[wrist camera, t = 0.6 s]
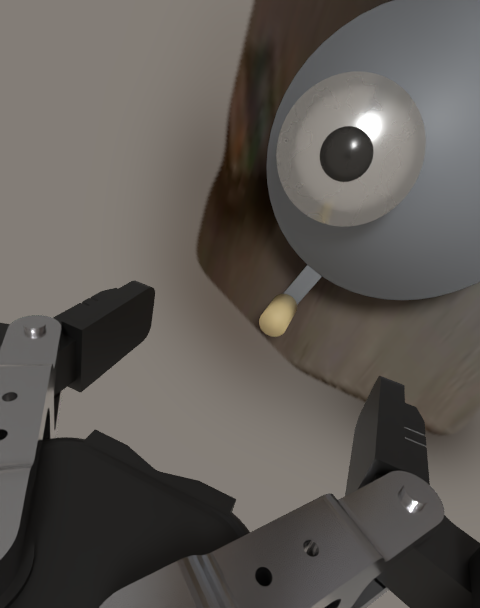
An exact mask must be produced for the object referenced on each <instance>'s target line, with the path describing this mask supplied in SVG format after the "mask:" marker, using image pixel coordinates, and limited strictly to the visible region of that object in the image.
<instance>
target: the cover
mask: <svg viewBox="0 0 480 608" xmlns="http://www.w3.org/2000/svg"><path fill="white" fill-rule="evenodd" d="M425 147H426V136H425V128H424V123H423V120H422V117H421V114H420V111H419V109H418V108H417V106H416V104H415V102H414V101H413V99H412V98H411V97H410V95H409V94H408V93H407V92H406V91H405V90H404V89H403V88H402V87H401V86H399V85H398V84H397V83H395V82H394V81H392V80H390V79H388V78H386V77H384V76H381V75H378V74H375V73H370V72H346V73H341V74H337V75H334V76H331V77H329V78H327V79H324V80H322V81H321V82H319V83H317V84H316V85H314V86H313V87H311V88H310V89H309V90H308V91H306V92H305V93H304V94H303V95H302V96H301V97H300V98H299V99H298V100H297V102H296V103H295V104H294V105H293V107H292V108H291V110H290V111H289V113H288V115H287V116H286V118H285V121H284V123H283V125H282V128H281V131H280V134H279V138H278V143H277V152H276V159H277V169H278V174H279V178H280V181H281V184H282V186H283V188H284V191H285V192H286V194H287V196H288V197H289V199H290V200H291V201H292V203H293V204H294V205H295V206H296V207H297V208H298V209H299V210H300V211H301V212H303V213H304V214H305V215H307V216H308V217H310V218H312V219H314V220H316V221H318V222H321V223H324V224H327V225H332V226H340V227H349V226H357V225H361V224H365V223H368V222H371V221H373V220H376V219H378V218H380V217H382V216H383V215H385V214H387V213H388V212H389V211H391V210H392V209H394V208H395V207H396V206H397V205H398V204H399V203H400V202H401V201H402V200H403V199H404V198H405V197H406V195H407V194H408V193H409V191H410V190H411V188H412V187H413V186H414V184H415V182H416V180H417V178H418V176H419V173H420V171H421V168H422V165H423V161H424V156H425Z"/></svg>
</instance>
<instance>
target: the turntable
mask: <svg viewBox="0 0 480 608" xmlns="http://www.w3.org/2000/svg"><path fill="white" fill-rule="evenodd" d="M346 72H370V73H375V74H378V75H381V76H384V77H386V78H388V79H390V80H392V81H394V82H395V83H397V84H398V85H399V86H401V87H402V88H403V89H404V90H405V91H406V92H407V93H408V94H409V95H410V97H411V98H412V99H413V101H414V102H415V104H416V106H417V108H418V109H419V111H420V114H421V117H422V120H423V123H424V128H425V136H426V147H425V156H424V161H423V165H422V168H421V171H420V173H419V176H418V178H417V180H416V182H415V184H414V186H413V187H412V188H411V190H410V191H409V193H408V194H407V195H406V197H405V198H404V199H403V200H402V201H401V202H400V203H399V204H398V205H397V206H396V207H395V208H394V209H392V210H391V211H389V212H388V213H387V214H385V215H383V216H382V217H380V218H378V219H376V220H373V221H371V222H368V223H365V224H361V225H357V226H349V227H340V226H332V225H327V224H324V223H321V222H318V221H316V220H314V219H312V218H310V217H308V216H307V215H305V214H304V213H303V212H301V211H300V210H299V209H298V208H297V207H296V206H295V205H294V204H293V203H292V201H291V200H290V199H289V197H288V196H287V194H286V192H285V191H284V188H283V186H282V184H281V181H280V178H279V174H278V169H277V159H276V152H277V143H278V138H279V134H280V131H281V128H282V125H283V123H284V121H285V118H286V116H287V115H288V113H289V111H290V110H291V108H292V107H293V105H294V104H295V103H296V102H297V100H298V99H299V98H300V97H301V96H302V95H303V94H304V93H305V92H306V91H308V90H309V89H310V88H311V87H313V86H314V85H316V84H317V83H319V82H321V81H322V80H324V79H327V78H329V77H331V76H334V75H337V74H341V73H346ZM267 185H268V190H269V196H270V201H271V205H272V208H273V211H274V215H275V217H276V220H277V222H278V224H279V226H280V229H281V231H282V232H283V234H284V236H285V237H286V239H287V241H288V242H289V244H290V245H291V247H292V248H293V249H294V250H295V252H296V253H297V254H298V255H299V257H300V258H301V259H302V260H303V261H304V262H305V263H306V264H307V266H306V267H305V268H304V269H303V270H302V272H301V273H300V274H299V275H298V276H297V278H296V279H295V280H294V281H293V282H292V283H291V285H290V286H289V287H288V288H287V289H286V291H285V292H284V293H283V294H279V295H277V296H276V297H275V298H274V299H273V300H272V302H271V303H270V304H269V306H268V307H267V308H266V310H265V311H264V312H263V314H262V315H261V317H260V319H259V325H260V328H261V329H262V331H263V332H264V333H265V334H267V335H269V336H273V337H277V336H280V335H282V334H283V333H284V332H285V330H286V329H287V327H288V325H289V323H290V322H291V320H292V318H293V316H294V314H295V313H296V311H297V304H298V303H299V302H300V301H301V300H302V298H303V297H304V296H305V295H306V294H307V293H308V292H309V290H310V289H311V288H312V287H313V286H314V285H315V284H316V283H317V281H318V280H319V279H320V278H321V277H324V278H325V279H327V280H329V281H331V282H332V283H334V284H336V285H338V286H340V287H342V288H345V289H347V290H349V291H352V292H355V293H358V294H362V295H365V296H369V297H375V298H380V299H389V300H415V299H424V298H430V297H436V296H441V295H444V294H448V293H451V292H455V291H458V290H461V289H463V288H466V287H468V286H471V285H473V284H475V283H478V282H479V281H480V0H393V1H390V2H387V3H384V4H382V5H379V6H377V7H375V8H373V9H371V10H369V11H367V12H365V13H363V14H361V15H359V16H358V17H356V18H355V19H353V20H352V21H350V22H349V23H347V24H346V25H344V26H343V27H341V28H340V29H339V30H338V31H336V32H335V33H334V34H333V35H332V36H330V37H329V38H328V39H327V40H326V41H324V42H323V43H322V44H321V45H320V47H319V48H318V49H317V50H316V51H315V52H314V53H313V54H312V55H311V56H310V57H309V58H308V59H307V61H306V62H305V63H304V65H303V66H302V67H301V69H300V70H299V71H298V73H297V74H296V76H295V77H294V79H293V81H292V82H291V84H290V86H289V87H288V89H287V91H286V93H285V95H284V97H283V99H282V101H281V104H280V106H279V108H278V110H277V113H276V116H275V120H274V123H273V126H272V129H271V134H270V139H269V144H268V152H267Z"/></svg>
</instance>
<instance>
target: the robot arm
mask: <svg viewBox="0 0 480 608" xmlns="http://www.w3.org/2000/svg"><path fill="white" fill-rule="evenodd" d="M154 297H155V290H154V288H152V287H150V286H147V285H145V284H142V283H140V282H137V281H131V282H129V283H128V284H126V285H124V286H122V287H121V288H119V289H117V288H114V289H109V290H105V291H102V292H99V293H98V294H96V295H94V296H92V297H91V299H90V298H88V299H87V300H85V301H83V302H82V304H81V303H79V304H77V305H76V306H74V307H72V308H70V309H68V310H66V311H65V312H63V313H61V314H59V315H57V316H55V317H54V318H51V317H48V316H42V315H32V316H26V317H22V318H19V319H17V320H15V321H13V322H12V323H11V324H4V323H0V608H367V607H368V606H369V605H371V604H372V603H373V602H374V601H376V600H377V599H378V598H379V597H381V596H382V595H383V594H384V593H386V592H387V591H388V590H390V591H391V592H393V593H394V594H395V595H396V596H397V597H398V598H399V599H400V600H402V601H403V602H404V603H405V604H406V605H407V606H409V607H410V608H480V543H479V542H477V541H476V540H475V539H473V538H472V537H471V536H469V535H468V534H466V533H465V532H464V531H462V530H461V529H460V528H458V527H457V526H456V525H454V524H453V523H452V522H451V521H450V520H449V519H448V518H447V517H446V516H445V515H444V507H443V504H442V501H441V499H440V498H439V496H438V495H437V493H436V492H435V491H434V489H433V488H432V487H431V486H430V484H429V472H428V461H427V448H426V437H425V424H424V420H423V418H422V417H421V415H420V413H419V411H418V410H417V408H416V407H414V406H411V405H409V404H406V403H405V397H404V385H402V384H400V383H397V382H394V381H392V380H389V379H387V378H384V377H381V376H379V377H378V379H377V380H376V382H375V384H374V386H373V388H372V390H371V393H370V395H369V397H368V399H367V401H366V403H365V405H364V407H363V409H362V411H361V413H360V416H359V418H358V421H357V424H356V428H355V434H354V440H353V447H352V453H351V460H350V466H349V473H348V480H347V487H346V493H345V497H343V498H341V499H339V500H337V499H336V498H335V496H334V495H333V494H326V495H323V496H321V497H319V498H317V499H315V500H313V501H311V502H309V503H307V504H305V505H303V506H302V507H300V508H297V509H296V510H293V511H292V512H290V513H288V514H286V515H284V516H282V517H280V518H278V519H276V520H274V521H272V522H270V523H268V524H266V525H264V526H262V527H260V528H258V529H256V530H254V531H252V532H249V530H248V529H247V528H246V526H245V525H244V524H243V523H242V522H241V521H240V519H238V518H237V517H236V516H235V515H234V514H233V513H232V511H233V508H234V504H235V501H236V499H234V498H232V497H230V496H228V495H226V494H224V493H222V492H220V491H218V490H216V489H214V488H212V487H210V486H208V485H206V484H204V483H202V482H200V481H197V480H193V479H188V478H184V477H180V476H175V475H171V474H167V473H163V472H159V471H157V470H155V469H154V468H153V467H151V466H150V465H149V464H148V463H147V462H146V461H144V459H142V458H141V457H140V456H139V455H138V454H137V453H135V452H134V451H133V450H132V449H131V448H130V447H129V446H128V445H125V444H124V443H122V442H120V441H118V440H115V439H113V438H111V437H109V436H107V435H105V434H103V433H101V432H99V431H97V430H94V431H93V432H92V433H91V434H90V435H89V436H88V437H87V438H86V439H79V438H56V435H57V428H58V420H59V412H60V405H61V391H62V390H63V389H64V388H66V387H67V386H68V387H70V388H72V389H75V390H76V391H78V392H82V391H83V390H84V389H85V388H87V387H88V386H89V385H90V384H92V383H93V382H94V381H95V380H96V379H98V378H99V377H100V376H101V375H102V374H104V373H105V372H106V371H107V370H109V369H110V368H111V367H112V366H113V365H115V364H116V363H117V362H118V361H120V360H121V359H122V358H123V357H124V356H125V355H127V354H128V353H129V352H130V351H131V350H133V349H134V348H135V347H136V346H138V345H139V344H140V343H141V342H142V341H144V339H145V338H146V337H147V335H148V333H149V331H150V328H151V321H152V314H153V306H154Z"/></svg>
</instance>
